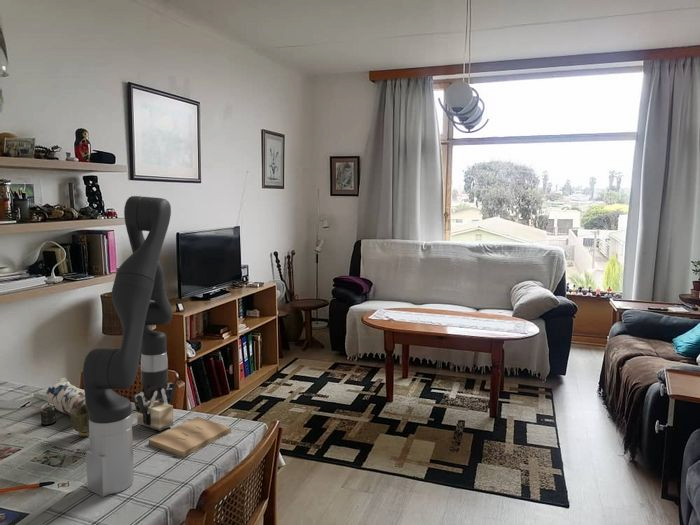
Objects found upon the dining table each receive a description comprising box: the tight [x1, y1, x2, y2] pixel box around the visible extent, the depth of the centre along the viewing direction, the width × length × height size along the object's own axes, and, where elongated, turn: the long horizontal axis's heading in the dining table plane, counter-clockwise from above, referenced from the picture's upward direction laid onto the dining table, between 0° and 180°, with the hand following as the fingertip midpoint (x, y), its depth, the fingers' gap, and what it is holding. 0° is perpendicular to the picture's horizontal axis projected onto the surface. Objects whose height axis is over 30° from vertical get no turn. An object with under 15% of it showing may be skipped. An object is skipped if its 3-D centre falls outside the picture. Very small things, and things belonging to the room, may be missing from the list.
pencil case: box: [46, 377, 86, 416], centre depth 159 cm, size 22×8×10 cm, turn 58°
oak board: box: [148, 416, 232, 458], centre depth 145 cm, size 18×14×2 cm
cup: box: [69, 404, 89, 438], centre depth 145 cm, size 8×7×8 cm
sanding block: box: [136, 400, 174, 432], centre depth 152 cm, size 5×10×6 cm, turn 60°
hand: (155, 421), depth 152 cm, fingers closed on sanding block, 5 cm apart
